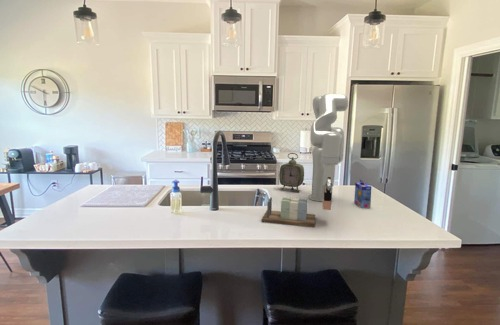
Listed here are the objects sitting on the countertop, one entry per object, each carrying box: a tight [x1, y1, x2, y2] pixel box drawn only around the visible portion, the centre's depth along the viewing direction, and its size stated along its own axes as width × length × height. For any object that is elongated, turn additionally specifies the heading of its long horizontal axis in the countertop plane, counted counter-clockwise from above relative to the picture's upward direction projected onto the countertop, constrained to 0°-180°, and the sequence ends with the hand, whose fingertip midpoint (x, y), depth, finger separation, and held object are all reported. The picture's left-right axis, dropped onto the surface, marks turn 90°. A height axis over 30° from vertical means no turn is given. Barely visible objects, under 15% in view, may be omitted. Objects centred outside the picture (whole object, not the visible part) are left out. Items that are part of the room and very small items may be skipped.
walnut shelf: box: [261, 196, 316, 228], centre depth 139 cm, size 13×24×10 cm, turn 77°
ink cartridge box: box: [353, 179, 372, 209], centre depth 163 cm, size 10×6×14 cm, turn 3°
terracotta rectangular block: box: [322, 180, 334, 211], centre depth 136 cm, size 7×4×12 cm, turn 167°
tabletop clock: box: [278, 152, 305, 193], centre depth 193 cm, size 14×9×25 cm, turn 62°
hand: (327, 197), depth 136 cm, fingers closed on terracotta rectangular block, 7 cm apart
